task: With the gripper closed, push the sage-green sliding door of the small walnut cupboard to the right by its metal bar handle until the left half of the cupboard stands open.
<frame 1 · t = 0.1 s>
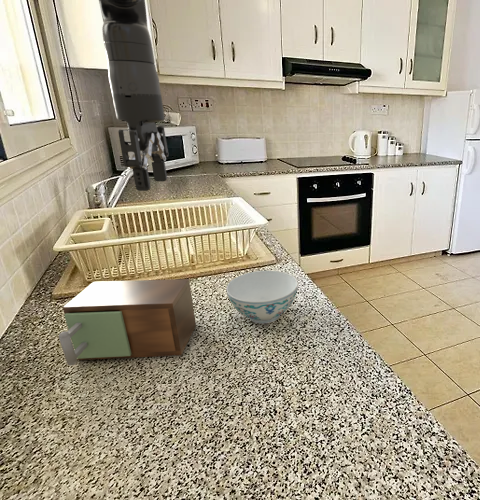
hand: (152, 185, 70), 29 cm above the countertop, tool pointing down, fingers open, 8 cm apart
slide door: (91, 343, 63), point 5 cm above the countertop, slide at 0.0 cm
cupboard: (141, 341, 73), on the countertop
chinaware: (265, 316, 83), on the countertop
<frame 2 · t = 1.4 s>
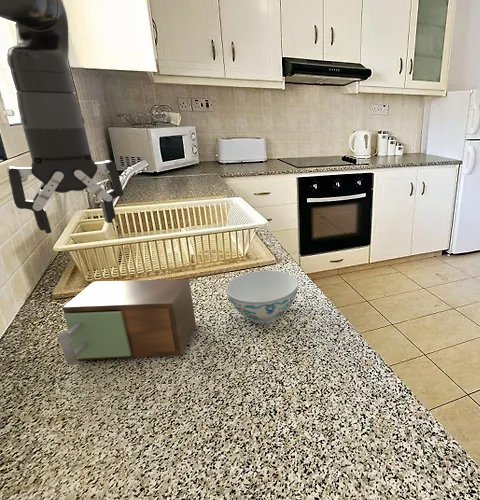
hand: (79, 226, 62), 24 cm above the countertop, tool pointing down, fingers open, 8 cm apart
nothing on the countertop moved.
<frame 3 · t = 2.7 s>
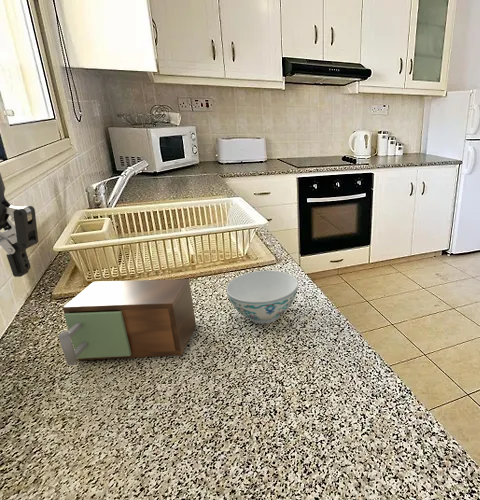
nothing on the countertop moved.
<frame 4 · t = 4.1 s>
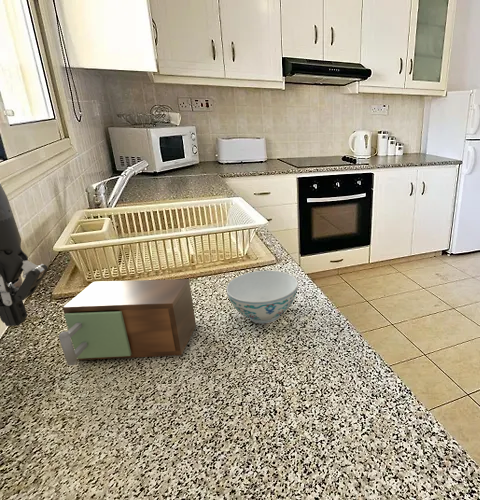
hand: (16, 323, 59), 11 cm above the countertop, tool pointing down, fingers closed
nothing on the countertop moved.
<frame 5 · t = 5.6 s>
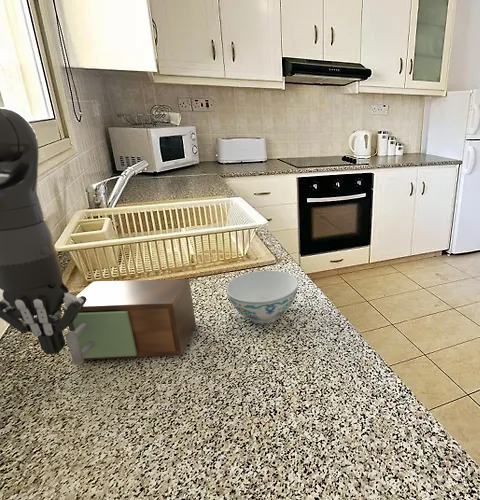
hand: (55, 351, 61), 6 cm above the countertop, tool pointing down, fingers closed
slide door: (98, 343, 63), point 5 cm above the countertop, slide at 1.0 cm, touching gripper
everything else where it was.
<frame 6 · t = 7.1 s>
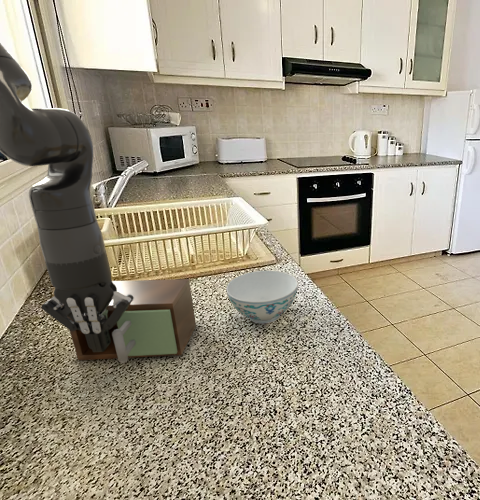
hand: (101, 349, 62), 6 cm above the countertop, tool pointing down, fingers closed
slide door: (141, 341, 64), point 5 cm above the countertop, slide at 8.1 cm, touching gripper
everything else where it was.
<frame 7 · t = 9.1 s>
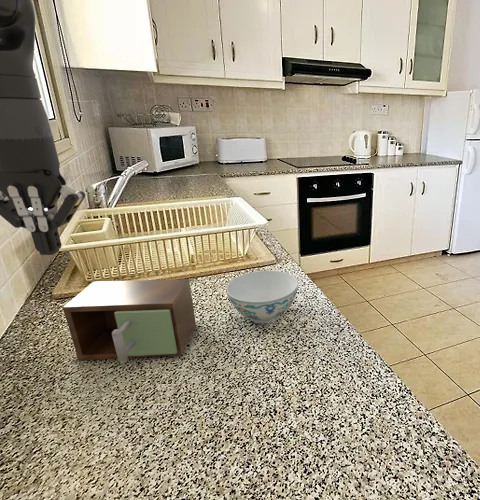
hand: (50, 253, 57), 22 cm above the countertop, tool pointing down, fingers closed
slide door: (141, 341, 64), point 5 cm above the countertop, slide at 8.0 cm
everything else where it was.
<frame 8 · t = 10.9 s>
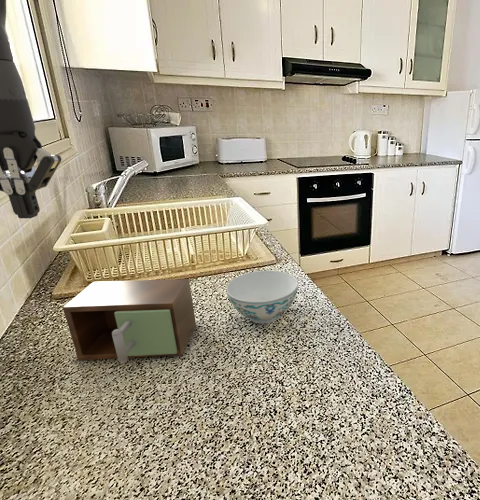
hand: (28, 217, 58), 27 cm above the countertop, tool pointing down, fingers closed
nothing on the countertop moved.
at the end: slide door slide at 8.0 cm; the gripper is holding nothing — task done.
